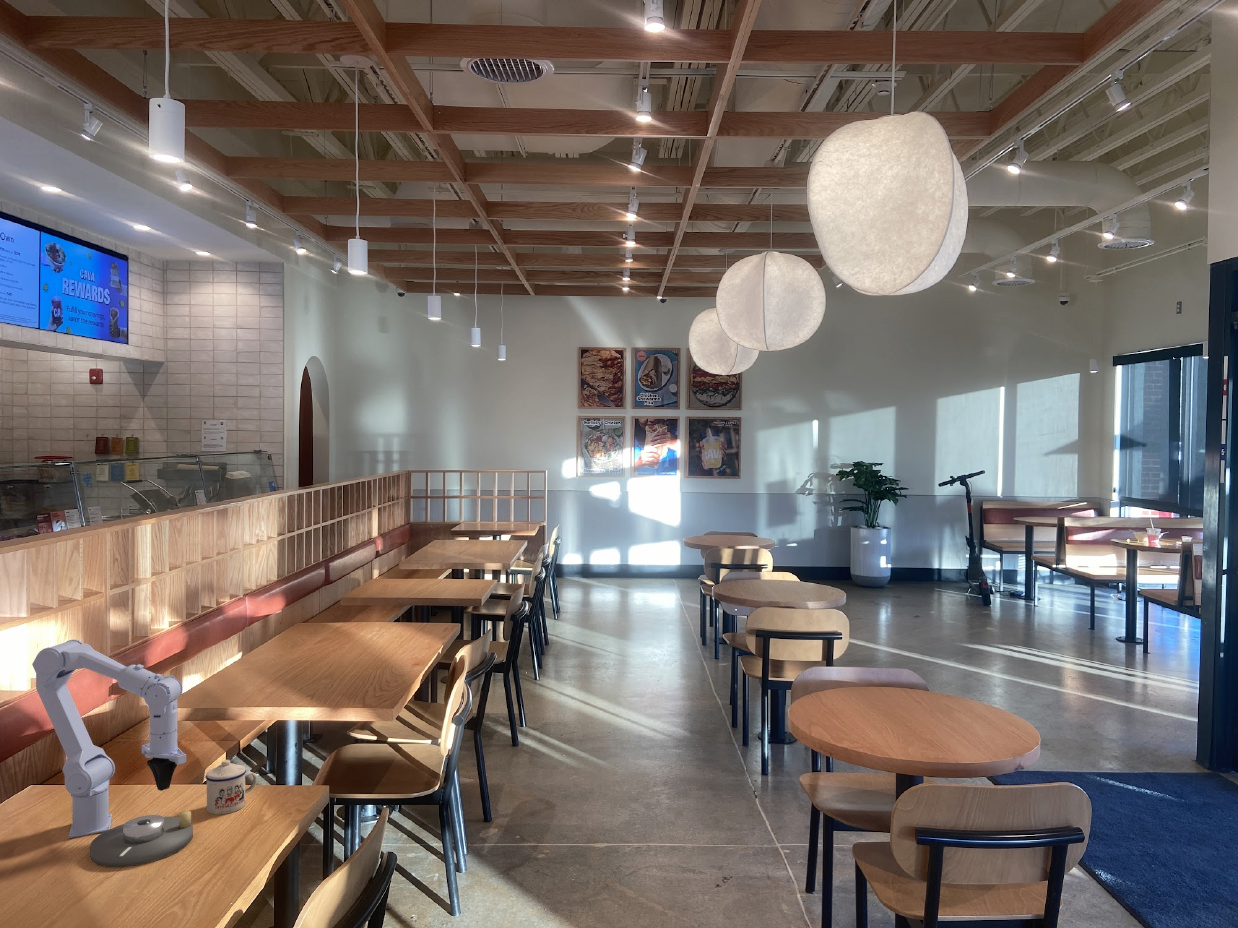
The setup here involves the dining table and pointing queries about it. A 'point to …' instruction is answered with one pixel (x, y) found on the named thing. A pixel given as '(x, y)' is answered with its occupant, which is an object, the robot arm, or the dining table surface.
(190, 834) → the turntable
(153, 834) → the cover
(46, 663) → the robot arm
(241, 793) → the teacup with lid
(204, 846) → the dining table surface
